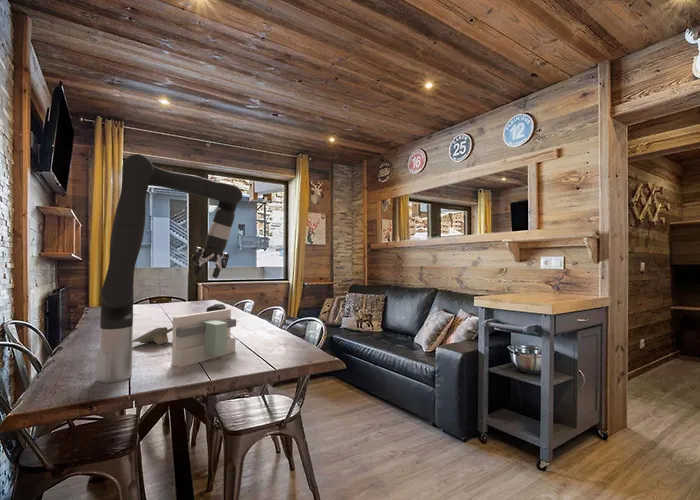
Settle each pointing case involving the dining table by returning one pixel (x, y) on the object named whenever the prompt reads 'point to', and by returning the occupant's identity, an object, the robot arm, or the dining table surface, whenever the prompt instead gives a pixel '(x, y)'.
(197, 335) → the cleat board
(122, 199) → the robot arm
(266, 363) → the dining table surface
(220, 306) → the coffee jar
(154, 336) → the olive slanted plate stand
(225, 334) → the sage cabinet
